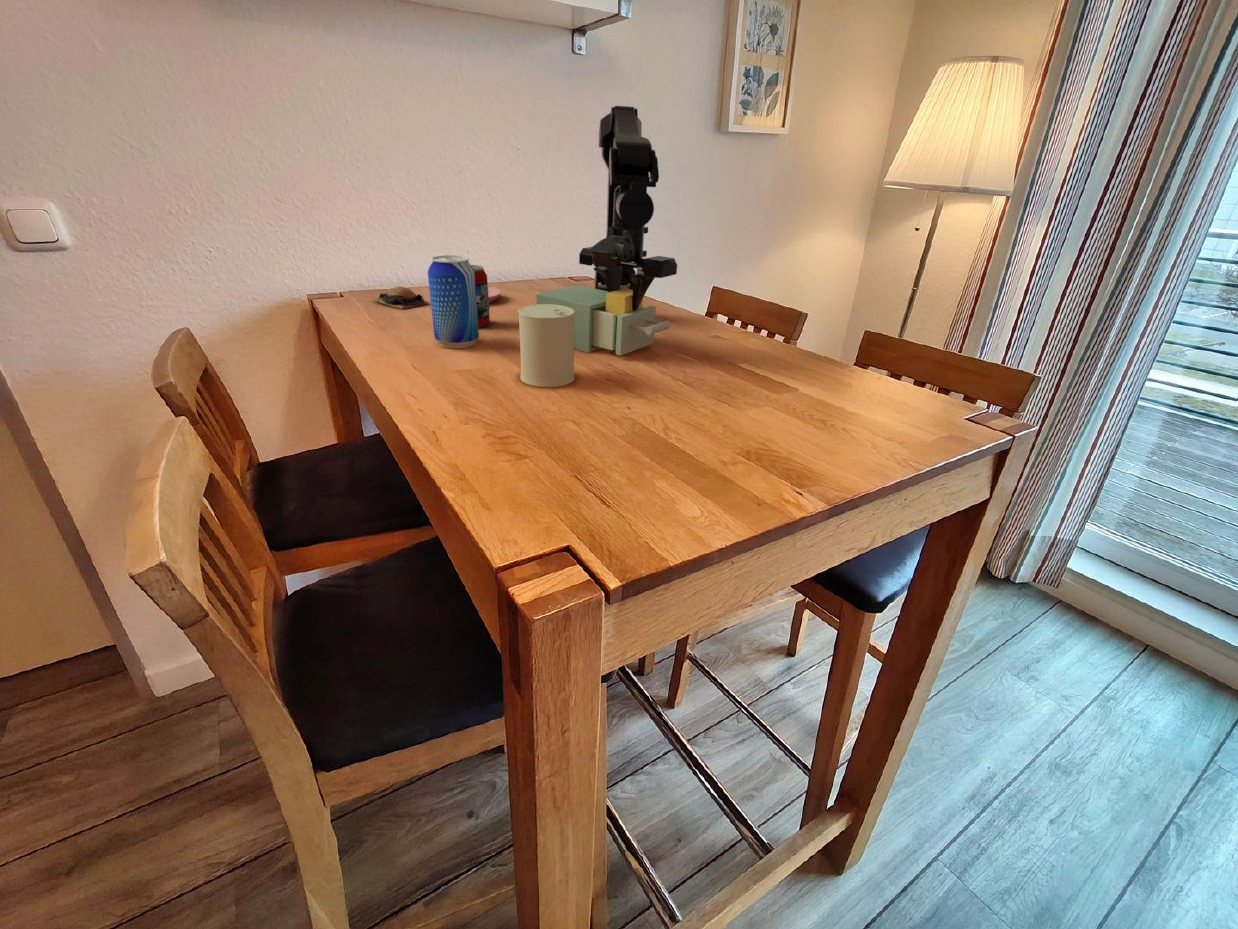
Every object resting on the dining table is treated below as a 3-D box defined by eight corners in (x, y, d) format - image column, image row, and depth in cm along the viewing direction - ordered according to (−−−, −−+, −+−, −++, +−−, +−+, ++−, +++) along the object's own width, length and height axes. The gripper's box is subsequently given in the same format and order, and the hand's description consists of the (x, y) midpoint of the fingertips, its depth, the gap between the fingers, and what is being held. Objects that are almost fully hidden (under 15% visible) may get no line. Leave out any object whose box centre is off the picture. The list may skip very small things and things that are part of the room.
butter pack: (642, 312, 114) (643, 291, 112) (624, 318, 110) (625, 296, 108) (623, 308, 116) (624, 288, 114) (605, 314, 112) (606, 292, 110)
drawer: (674, 348, 116) (677, 311, 112) (642, 361, 107) (645, 322, 104) (604, 330, 124) (605, 295, 121) (569, 342, 116) (569, 305, 113)
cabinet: (626, 339, 123) (628, 295, 118) (588, 352, 113) (589, 305, 109) (576, 326, 129) (576, 284, 125) (537, 338, 120) (536, 293, 116)
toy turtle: (372, 302, 140) (370, 286, 139) (402, 296, 147) (400, 281, 145) (400, 310, 135) (398, 293, 133) (430, 304, 141) (428, 288, 140)
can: (552, 391, 95) (551, 317, 89) (509, 379, 99) (505, 307, 93) (585, 376, 102) (586, 307, 96) (543, 365, 106) (542, 298, 100)
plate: (513, 299, 149) (512, 291, 148) (472, 309, 139) (472, 300, 138) (472, 290, 156) (471, 282, 155) (430, 299, 145) (429, 291, 144)
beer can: (487, 340, 117) (482, 257, 110) (464, 352, 110) (457, 263, 103) (451, 335, 120) (443, 252, 112) (426, 345, 113) (416, 259, 105)
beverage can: (482, 329, 124) (478, 271, 118) (452, 326, 125) (447, 268, 119) (494, 322, 130) (491, 265, 124) (466, 319, 131) (461, 263, 125)
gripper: (559, 218, 104) (560, 306, 111) (647, 229, 94) (641, 325, 102) (598, 214, 112) (596, 297, 119) (682, 225, 103) (674, 314, 110)
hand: (624, 308), depth 112 cm, fingers closed on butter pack, 4 cm apart
